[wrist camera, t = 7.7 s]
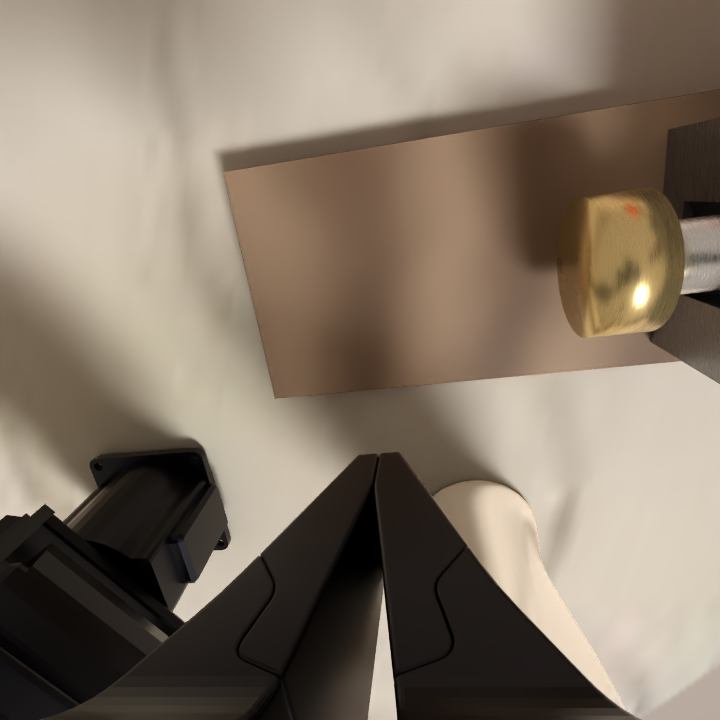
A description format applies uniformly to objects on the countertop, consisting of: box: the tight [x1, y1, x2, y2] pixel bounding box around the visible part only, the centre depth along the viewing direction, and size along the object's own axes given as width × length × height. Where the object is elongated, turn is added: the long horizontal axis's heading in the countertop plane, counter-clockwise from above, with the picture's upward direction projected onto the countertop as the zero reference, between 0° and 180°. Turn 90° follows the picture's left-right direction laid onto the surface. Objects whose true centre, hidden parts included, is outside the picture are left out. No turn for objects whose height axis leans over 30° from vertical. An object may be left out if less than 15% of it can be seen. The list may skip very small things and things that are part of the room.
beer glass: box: [433, 480, 627, 711], centre depth 17 cm, size 7×7×15 cm
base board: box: [224, 90, 720, 398], centre depth 18 cm, size 22×10×1 cm, turn 98°
